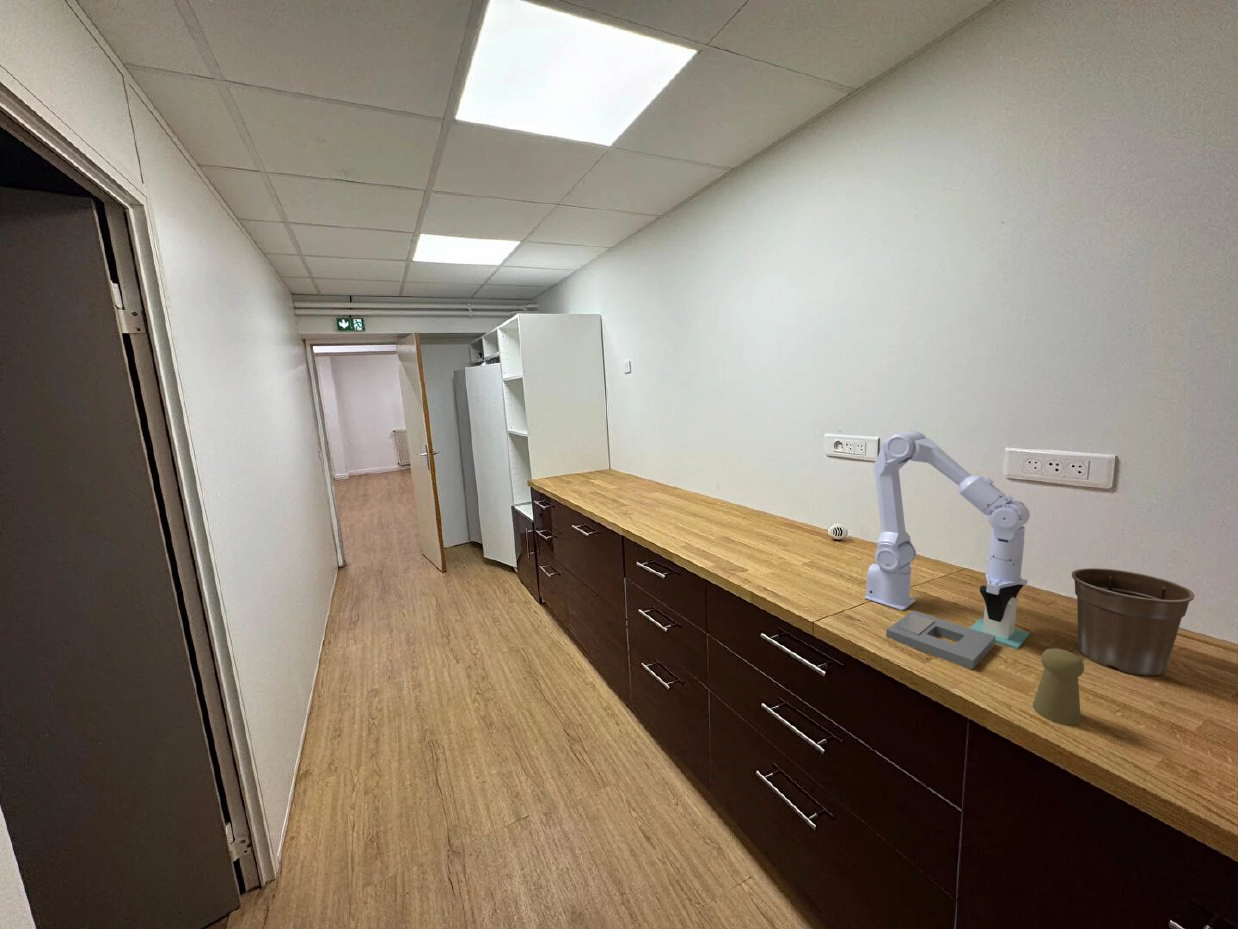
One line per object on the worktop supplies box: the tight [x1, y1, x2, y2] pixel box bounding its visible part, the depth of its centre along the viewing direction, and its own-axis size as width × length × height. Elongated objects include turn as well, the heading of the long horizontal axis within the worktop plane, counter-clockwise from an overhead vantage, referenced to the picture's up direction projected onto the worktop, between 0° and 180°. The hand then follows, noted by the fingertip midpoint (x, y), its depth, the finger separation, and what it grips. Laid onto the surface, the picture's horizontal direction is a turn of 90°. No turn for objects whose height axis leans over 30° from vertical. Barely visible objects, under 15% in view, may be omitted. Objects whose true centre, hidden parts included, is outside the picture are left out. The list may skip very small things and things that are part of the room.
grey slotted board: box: [885, 610, 996, 670], centre depth 102 cm, size 16×14×2 cm
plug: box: [983, 597, 1019, 639], centre depth 104 cm, size 4×4×8 cm
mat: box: [969, 618, 1030, 650], centre depth 105 cm, size 9×9×1 cm
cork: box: [1032, 648, 1085, 727], centre depth 79 cm, size 6×6×11 cm
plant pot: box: [1071, 567, 1195, 676], centre depth 93 cm, size 16×16×16 cm
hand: (999, 615), depth 104 cm, fingers open, 6 cm apart
